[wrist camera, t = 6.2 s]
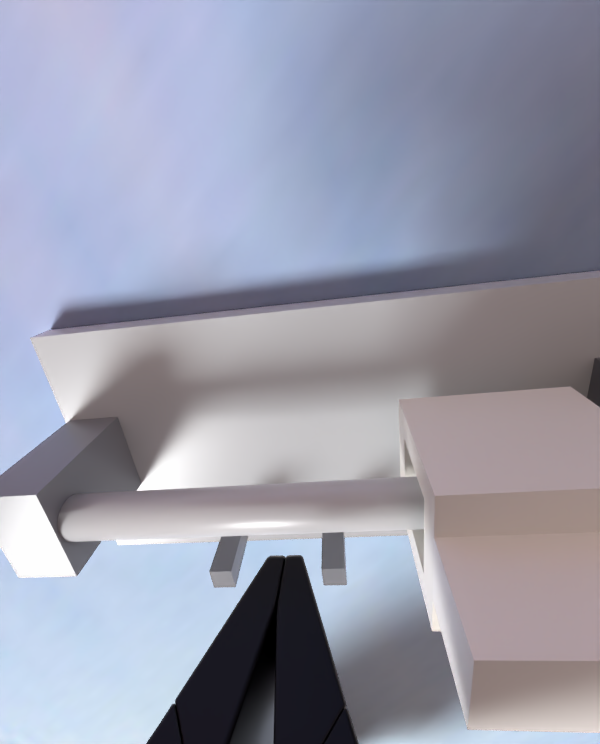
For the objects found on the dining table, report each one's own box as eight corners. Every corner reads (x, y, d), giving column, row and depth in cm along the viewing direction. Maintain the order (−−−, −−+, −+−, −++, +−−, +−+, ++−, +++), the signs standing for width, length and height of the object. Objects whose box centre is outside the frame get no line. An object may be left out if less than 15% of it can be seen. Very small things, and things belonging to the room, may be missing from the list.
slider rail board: (128, 528, 18) (16, 704, 11) (49, 329, 14) (-187, 427, 8) (624, 508, 15) (837, 720, 9) (692, 260, 11) (1154, 318, 5)
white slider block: (401, 506, 13) (464, 763, 7) (398, 399, 11) (478, 611, 5) (550, 499, 13) (763, 773, 6) (570, 386, 11) (881, 607, 5)
